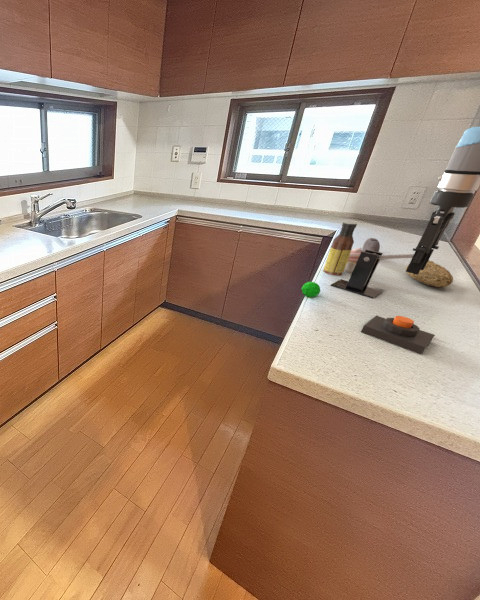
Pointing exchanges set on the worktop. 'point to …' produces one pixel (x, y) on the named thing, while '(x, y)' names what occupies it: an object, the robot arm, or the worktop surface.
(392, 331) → the button block
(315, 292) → the green bumpy ball
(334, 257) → the sauce bottle
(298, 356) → the worktop surface
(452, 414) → the worktop surface
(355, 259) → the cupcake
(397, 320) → the button
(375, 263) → the bracket
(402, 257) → the lever
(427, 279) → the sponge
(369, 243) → the perforated stone tool
